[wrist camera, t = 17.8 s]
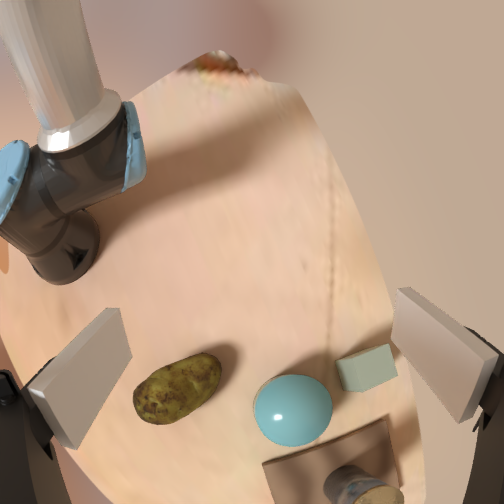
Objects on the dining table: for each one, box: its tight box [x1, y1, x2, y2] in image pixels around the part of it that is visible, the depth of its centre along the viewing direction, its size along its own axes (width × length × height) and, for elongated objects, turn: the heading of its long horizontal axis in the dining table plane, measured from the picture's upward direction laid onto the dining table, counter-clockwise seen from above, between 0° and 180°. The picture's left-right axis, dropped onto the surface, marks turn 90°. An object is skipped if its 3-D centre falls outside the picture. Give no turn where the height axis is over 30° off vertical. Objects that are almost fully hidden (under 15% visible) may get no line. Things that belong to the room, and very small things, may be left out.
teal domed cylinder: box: [253, 374, 333, 447], centre depth 35 cm, size 10×10×6 cm
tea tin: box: [323, 465, 404, 504], centre depth 25 cm, size 7×7×12 cm
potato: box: [133, 353, 221, 425], centre depth 34 cm, size 8×13×8 cm, turn 110°
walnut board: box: [262, 419, 400, 504], centre depth 32 cm, size 20×16×2 cm
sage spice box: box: [335, 343, 398, 392], centre depth 37 cm, size 6×5×7 cm
